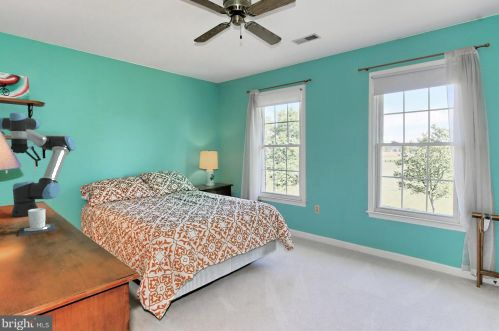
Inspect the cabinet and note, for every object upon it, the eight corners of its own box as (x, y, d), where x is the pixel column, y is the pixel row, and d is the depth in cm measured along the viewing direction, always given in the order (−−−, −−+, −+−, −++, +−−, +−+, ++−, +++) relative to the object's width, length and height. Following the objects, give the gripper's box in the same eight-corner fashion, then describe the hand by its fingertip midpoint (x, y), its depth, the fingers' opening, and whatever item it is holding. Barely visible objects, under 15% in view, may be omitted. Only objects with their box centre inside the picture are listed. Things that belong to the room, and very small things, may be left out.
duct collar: (20, 229, 155) (20, 226, 154) (54, 224, 164) (54, 221, 164) (18, 236, 144) (18, 232, 143) (55, 230, 153) (55, 227, 153)
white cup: (26, 229, 149) (25, 211, 148) (32, 225, 157) (31, 208, 156) (42, 228, 152) (42, 210, 151) (48, 224, 159) (47, 207, 158)
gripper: (-10, 137, 156) (-7, 174, 157) (44, 138, 171) (46, 171, 173) (-8, 138, 161) (-6, 173, 163) (44, 138, 177) (46, 170, 179)
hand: (21, 172), depth 168 cm, fingers open, 13 cm apart
